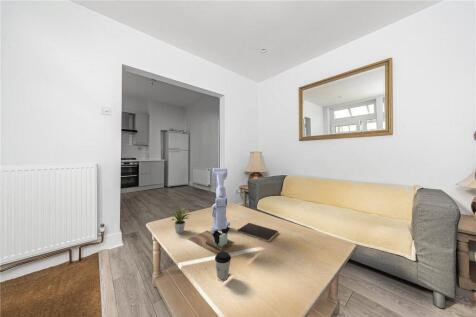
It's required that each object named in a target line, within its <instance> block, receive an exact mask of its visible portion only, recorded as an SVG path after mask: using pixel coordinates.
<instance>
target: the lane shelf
mask: <svg viewBox="0 0 476 317" xmlns="http://www.w3.org/2000/svg"><path fill="white" fill-rule="evenodd" d="M187 240H188V241H191V243H194V244H196V245H197V246H199V247H202V248H203V249H205V250H207V251H209V252H210V253H213V254H214V255H217V253H219V252H224V250H227V249H228V248H230V247H231V246H232V245H234V244H236V242H235V241H233V240H230V239H228V238H227V244H226V245H224V246H223V247H219V246H217V245H215V244H214V237H213V234H212V233H210V230H204V231H203V232H201V233H198V234H196V235H193V236H192V237H189V238H187Z"/></svg>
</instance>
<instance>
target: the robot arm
mask: <svg viewBox="0 0 476 317" xmlns="http://www.w3.org/2000/svg"><path fill="white" fill-rule="evenodd" d="M212 178H213V180H215V182H216V189H215V202H214V204H212V206H211V217H212V218H213V226H212V227H211V228H210V229H209V231H210V233H212V234H213V237H214V240H215V243H216V244H219V237H220V234H221V233H220V232H222V233H224V234H227V235H228V233H229V231H230V229H231V228H230V226H231V222H230V221H228V218H227V207H228V197H227V194H226V193H227V192H226V187H225V186H224V184H225V183H224V180H226V179H227V178H228V169H227V167H223V168H221V167H220V168H219V167H213V168H212Z"/></svg>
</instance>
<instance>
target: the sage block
mask: <svg viewBox="0 0 476 317" xmlns="http://www.w3.org/2000/svg"><path fill="white" fill-rule="evenodd" d="M219 232H220V233H221V234H220V237H219V244H216V243H215V240H214V244H215V245H217V246H219V247H223V246H224V245H226V244H227V239H228V233H227V234H224V233H222V231H219Z"/></svg>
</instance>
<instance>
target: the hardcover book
mask: <svg viewBox="0 0 476 317" xmlns="http://www.w3.org/2000/svg"><path fill="white" fill-rule="evenodd" d="M237 232H238V233H239V234H242V235H246V236H249V237H252V238H253V239H254V238H255V239H258V240H261V241H263V242H267V243H269V242H270V241H271V240H272V239H273V238H275V236H277V234H278V233H279V230H276V229H272V228H270V227H269V228H268V227H265V226H262V225H258V224H256V223H255V224H254V223H251V222H248V223H246V224H244V225H243V226H242V227H240V228H238V229H237Z"/></svg>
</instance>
